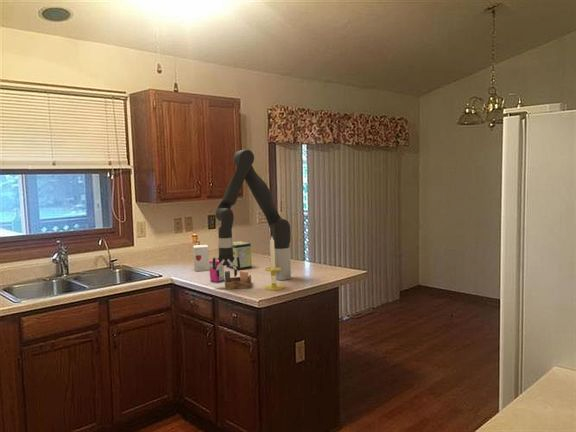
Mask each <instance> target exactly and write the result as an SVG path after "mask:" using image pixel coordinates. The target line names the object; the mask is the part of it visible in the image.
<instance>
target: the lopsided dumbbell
mask: <svg viewBox="0 0 576 432" xmlns="http://www.w3.org/2000/svg"><path fill="white" fill-rule="evenodd" d="M230 277H231V271H230V270H226V271H225V270H224V278H225V280H224V283H225V282H230ZM239 277H240V281H248V277H249V270H248V269H243V270H239Z"/></svg>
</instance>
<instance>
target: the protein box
mask: <svg viewBox="0 0 576 432" xmlns="http://www.w3.org/2000/svg"><path fill="white" fill-rule="evenodd" d="M251 247H252V245H251V243H250V242H245V241H233V256H234V257H238V256H239V258H240V268H239V269H237V271H243V270H248V269H252V268H253V264H252V263H253V262H252V248H251ZM233 263H234V264H235V266H238V265H237V261H236V260H235V259H234V261H233ZM225 267H226V268H229V269H231V270H234V268H233V267H232V266H231V265H229V266H227V265H226V266H225Z"/></svg>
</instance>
